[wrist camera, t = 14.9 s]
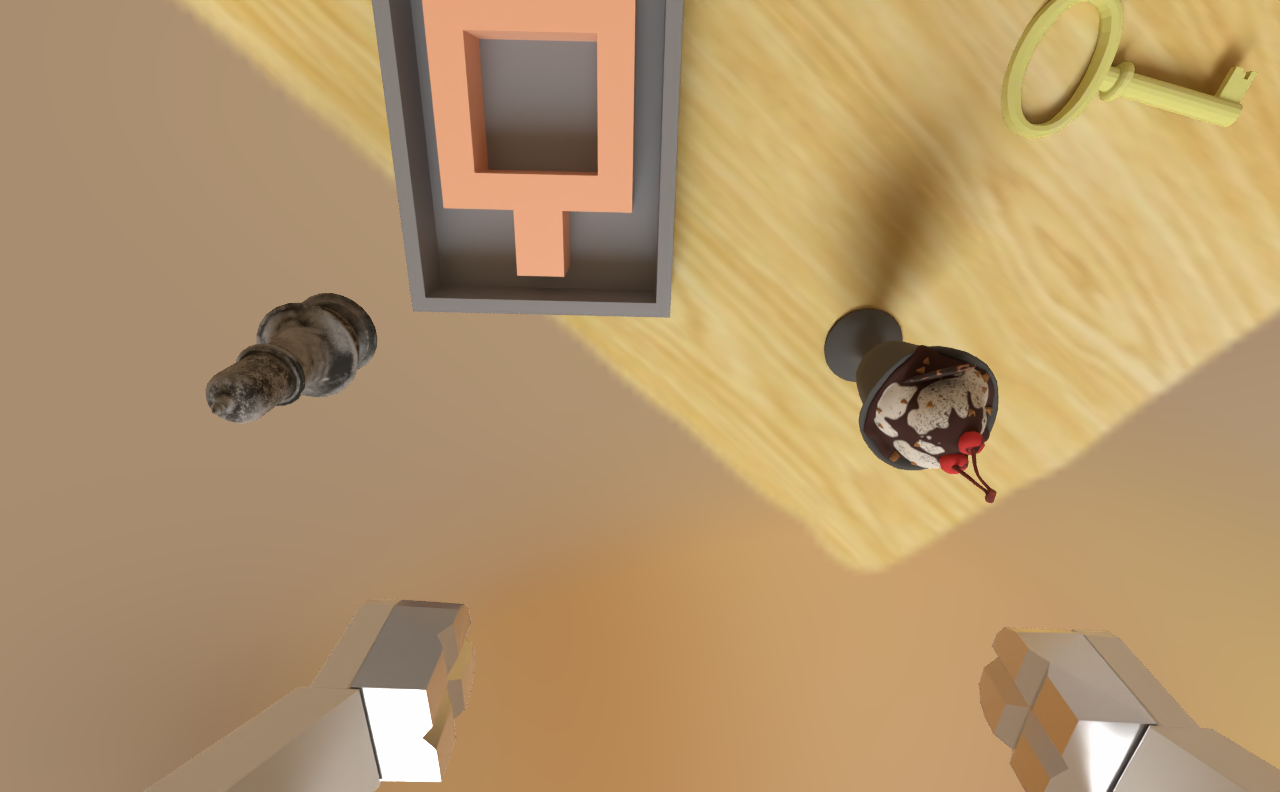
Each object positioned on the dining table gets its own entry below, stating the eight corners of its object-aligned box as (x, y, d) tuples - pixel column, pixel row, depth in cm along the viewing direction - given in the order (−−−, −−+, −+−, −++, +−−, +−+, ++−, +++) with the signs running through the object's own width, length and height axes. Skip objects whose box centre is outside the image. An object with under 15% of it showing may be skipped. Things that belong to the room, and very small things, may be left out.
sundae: (872, 410, 41) (988, 552, 27) (790, 363, 39) (867, 487, 26) (938, 328, 38) (1101, 437, 25) (853, 276, 37) (974, 360, 23)
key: (1213, 126, 34) (1248, 126, 32) (989, 140, 34) (1009, 140, 32) (1258, -27, 31) (1299, -37, 29) (1012, -9, 32) (1036, -19, 30)
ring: (440, -3, 31) (420, -16, 28) (636, 1, 31) (635, -11, 28) (465, 263, 36) (450, 273, 33) (632, 267, 36) (630, 278, 33)
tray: (682, -63, 30) (687, -88, 27) (667, 300, 38) (669, 317, 34) (392, -69, 30) (359, -95, 27) (434, 294, 38) (413, 311, 34)
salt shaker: (274, 296, 38) (122, 363, 27) (363, 281, 38) (246, 343, 27) (309, 381, 40) (183, 475, 29) (394, 368, 40) (297, 458, 29)
